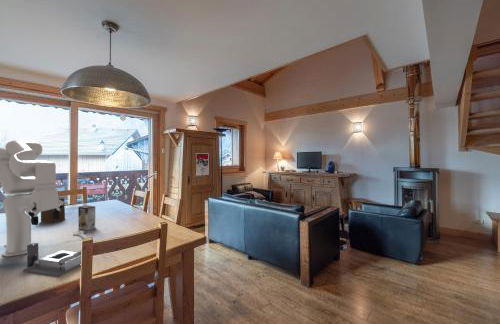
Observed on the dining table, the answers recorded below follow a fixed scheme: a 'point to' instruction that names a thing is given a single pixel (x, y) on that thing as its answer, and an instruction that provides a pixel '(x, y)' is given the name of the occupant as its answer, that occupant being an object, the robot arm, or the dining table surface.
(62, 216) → the wooden container
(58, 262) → the white grey box
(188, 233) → the dining table surface
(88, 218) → the coffee box
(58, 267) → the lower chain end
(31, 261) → the dark grey block
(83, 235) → the adjustable wrench
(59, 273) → the charcoal mat
